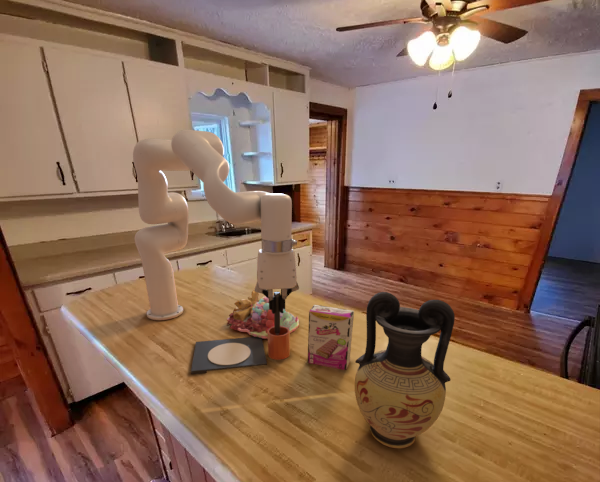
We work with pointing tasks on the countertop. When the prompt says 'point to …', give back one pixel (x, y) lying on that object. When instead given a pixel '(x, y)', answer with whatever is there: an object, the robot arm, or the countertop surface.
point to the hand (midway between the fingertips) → (277, 311)
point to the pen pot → (278, 343)
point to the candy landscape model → (258, 317)
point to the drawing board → (228, 354)
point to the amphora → (403, 369)
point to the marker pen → (277, 313)
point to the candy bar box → (330, 336)
